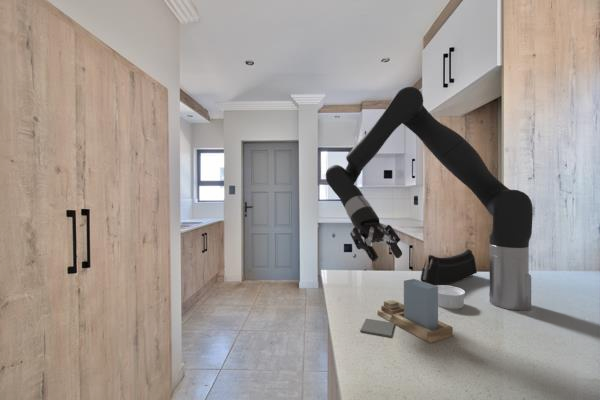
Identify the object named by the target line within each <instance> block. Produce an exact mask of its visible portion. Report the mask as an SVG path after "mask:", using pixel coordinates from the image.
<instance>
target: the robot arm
mask: <svg viewBox="0 0 600 400" xmlns="http://www.w3.org/2000/svg"><path fill="white" fill-rule="evenodd" d="M401 125H404V126H405V127H406V128H407V129H409V130H410V131H411V132H412V133H414V134H415V136H417V137H418V138H419V140H420V141H422V144H424V146H425V147H426V148H427V149H428V151H430V152H431V154H432V155H433V156H434V157H435V158H436V159H437V160H438V162H439V163H441V164H442V165H443V166H444V167H445V169H446V170H448V171H449V172H450V173H451V174H452V175H453V176H454V177H456V178H457V179H458V180H459V181H460V182H461V183H462V184H464V185H465V186H466V187H467V188H468V189H469V190H471V192H472V193H473V194H474V195H475V196H476V198H477V199H478V201H480V203H481V204H482V205H483V207H484V208H485V209H486V210H487V212H488V213H489V214H490V215H491V216H492V231H491V233H490V234H489V293H488V295H489V303H490V304H492V305H494V306H496V307H500V308H501V309H502V308H503V309H506V310H507V309H508V310H512V311H513V310H515V311H523V310H527V311H529V310H530V311H532V275H531V274H530V270H529V268H530V267H529V265H530V263H529V262H530V254H529V253H530V252H529V251H530V250H529V249H530V248H529V247H530V241H531V238H532V234H533V233H532V232H533V213H534V212H533V201H532V200H531V198H530V197H529V195H528V194H527V193H525V192H523V191H521V190H518V189H510V188H508V187H507V185H505V184H504V183H502V182H501V181H500V180H498V178H496V177H495V176H494V175H493V174H492V173H491V171H490V170H489V168H488V167H487V165H486V163H485V162H484V160H483V158H482V156H481V155H480V154H479V152H478V151H477V150H476V149H475V148H474V146H473V145H471V143H469V142H468V141H467V139H465V138H464V137H463V136H462V135H461V134H459V132H456V131H455V130H453V129H452V128H450V127H449V126H447V125H444V124H442V123H441V122H440V121H438V120H437V119H436V118H435V117H433V115H432V114H431V113H430V112H429V110H428V109H427V108H426V107H425V106H424V96H423V93H422V92H421V90H420V89H418V88H417V87H414V86H406V87H403V88H401V89H399V90H398V91H397V92H396V93H395V95H394V96H393V98H392V99H391V101H390V102H389V104H388V106H387V107H386V108H385V110H384V111H383V113H382V114H381V116H379V118H378V119H377V121H375V123H374V124H373V126H371V128H370V129H369V130H368V131H367V132H366V134H364V136H363V137H362V138H361V139H359V141H358V142H357V143H356V145H354V147H352V149H351V150H350V151H349V152H348V153H347V155H346V157H345V158H346V159H345V160H346V161H347V163H348V164H347V166H346V167H345V168H344V167H343V166H341V165H339V164H334V165H331V166H330V167H328V168H327V169H326V172H325V180H326V182H327V184H328V185H329V188H331V190H332V191H333V193H335V194H336V195H337V197H338V198H339V199H340V200H339V201H341V202H340V203H341V204H342V205H343V207H344V209H345V212H346V214H347V216H348V218H349V221H350V222H351V223H352V224H353V227H352V230H351V232H350V233H349V234H350V236H351V238H352V241H353V243H354V245H355V247H356V249H357V250H363V251H365V253H366V255H367V257H368V258H369V259H370V261H372V263H373V262H377V260H378V259H379V255H378V254H377V251H376V250H375V248H374V247H373V246H372V243H381V244H383V245H386V246H388V247H389V248H390V250H391V252H392V254H393V255H394V257H395V258H396V259H400V258H401V257H402V255H403V251H402V249H400V247H399V245H398V244H399V242H400V241H401V238H400V237H399V235H398V234H397V232H396V231H395V229H393V227H392V226H391V225H390V224H387V225H386V226H382V225H381V223H380V218H379V216H378V215H377V213H376V212H375V210H374V208H373V206H372V205H371V204H370V202H369V201H368V200H367V199H366V198H365V196H364V194H363V193H362V191H361V190H360V189H359V188H358V186H357V185H356V184H355V183H357V181H358V178H359V176H361V173H362V171H363V169H364V168H365V167H366V166H367V165H368V164H369V163H370V161H371V160H372V159H373V158H374V157H376V155H377V154H378V153H379V151H380V150H381V148H382V147H383V145H384V144H385V143H386V142H387V140H388V139H389V138H390V137H391V135H392V134H393V133H394V132H395V131H396V130H397V128H399V126H401ZM384 237H385V238H384Z"/></svg>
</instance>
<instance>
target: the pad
mask: <svg viewBox="0 0 600 400" xmlns="http://www.w3.org/2000/svg"><path fill="white" fill-rule="evenodd" d="M394 328H395V324H394V323H392V321H386V320H378V319H371V318H365V320H364V322H363V324H362V326H361V328H360V331H359V332H360V333H364V334H371V335H376V336H382V337H386V338H392V336H393V332H394Z"/></svg>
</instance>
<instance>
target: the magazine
mask: <svg viewBox="0 0 600 400" xmlns="http://www.w3.org/2000/svg"><path fill="white" fill-rule="evenodd" d="M477 273H478V270H477V264H476V258H475V255H474V254H473V251H472V249H466V250H465V251H464V252H462V253H460V254H459V253H458V254H456V255H452V256H448V257H447V256H445V257H439V256H435V255H431V254H429V255H428V258H427V259H426V261H425V263H424V265H423V268H422V269H421V274H420V281H423V282H426V283H429V284H432V285H435V286H438V285H452V284H455V283H458V282H462V281H463V280H466V279H467V278H469V277H471V276H473V275H475V274H477Z"/></svg>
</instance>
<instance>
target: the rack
mask: <svg viewBox="0 0 600 400" xmlns="http://www.w3.org/2000/svg"><path fill="white" fill-rule="evenodd" d="M377 315H378V316H379V317H381V318H383V319H384V320H387V322H391V323H394V326H397V327H399V328H401V329H403V330H405V331H406V332H409V333H410V334H412V335H414V336H416V337H418V338H419V339H422V340H423V341H425V342H426V343H428V344H432V343H436V342H438V341H441V340H444V339H448V338H450V337H452V336H454V335H453V334H454V333H453V332H454V330H453V329H454V327H453V326H451V325H449V324H447V323H444V322H442V321H439V320H438V329H437V330H434V331H431V330H429V329H427V328H424V327H422V326H420V325H418V324H416V323H414V322H412V321H410V320H408V319H406V318H404V303H401V302H399V301H397V300H394V299H389V300H384V301H383V305H381V307H380V309H378V310H377Z"/></svg>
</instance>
